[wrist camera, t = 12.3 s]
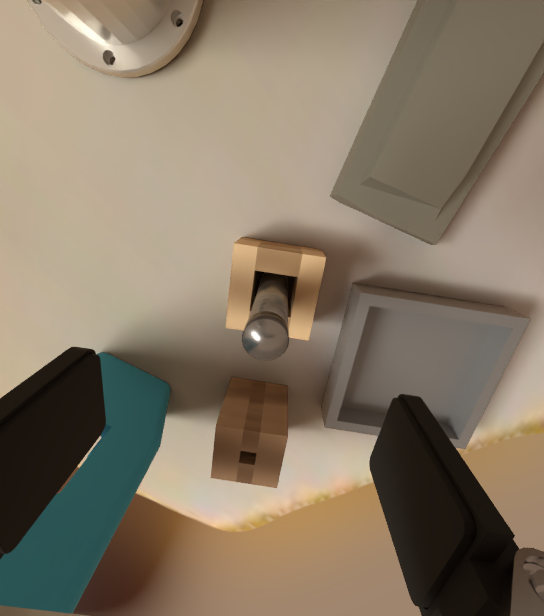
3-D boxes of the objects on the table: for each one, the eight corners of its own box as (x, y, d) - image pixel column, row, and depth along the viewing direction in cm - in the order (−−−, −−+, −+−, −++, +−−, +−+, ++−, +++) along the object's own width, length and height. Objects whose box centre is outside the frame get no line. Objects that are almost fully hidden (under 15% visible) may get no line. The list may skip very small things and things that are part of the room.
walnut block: (231, 377, 30) (216, 425, 24) (287, 385, 30) (287, 436, 24) (226, 421, 32) (210, 477, 26) (278, 430, 32) (276, 487, 26)
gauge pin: (262, 266, 26) (244, 315, 15) (290, 270, 26) (292, 322, 15) (259, 292, 27) (239, 357, 16) (285, 296, 27) (284, 364, 16)
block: (188, 393, 31) (38, 679, 12) (170, 424, 33) (14, 718, 14) (83, 341, 30) (-269, 579, 11) (69, 376, 31) (-256, 636, 13)
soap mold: (608, -44, 19) (677, -97, 15) (429, 244, 25) (450, 251, 22) (472, -127, 18) (514, -202, 14) (323, 195, 24) (329, 194, 21)
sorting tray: (352, 282, 26) (360, 292, 23) (504, 306, 26) (530, 319, 23) (321, 406, 31) (324, 427, 28) (448, 426, 31) (465, 449, 28)
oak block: (241, 237, 25) (233, 243, 21) (320, 249, 25) (326, 257, 21) (233, 310, 28) (225, 327, 24) (305, 321, 28) (308, 340, 24)
